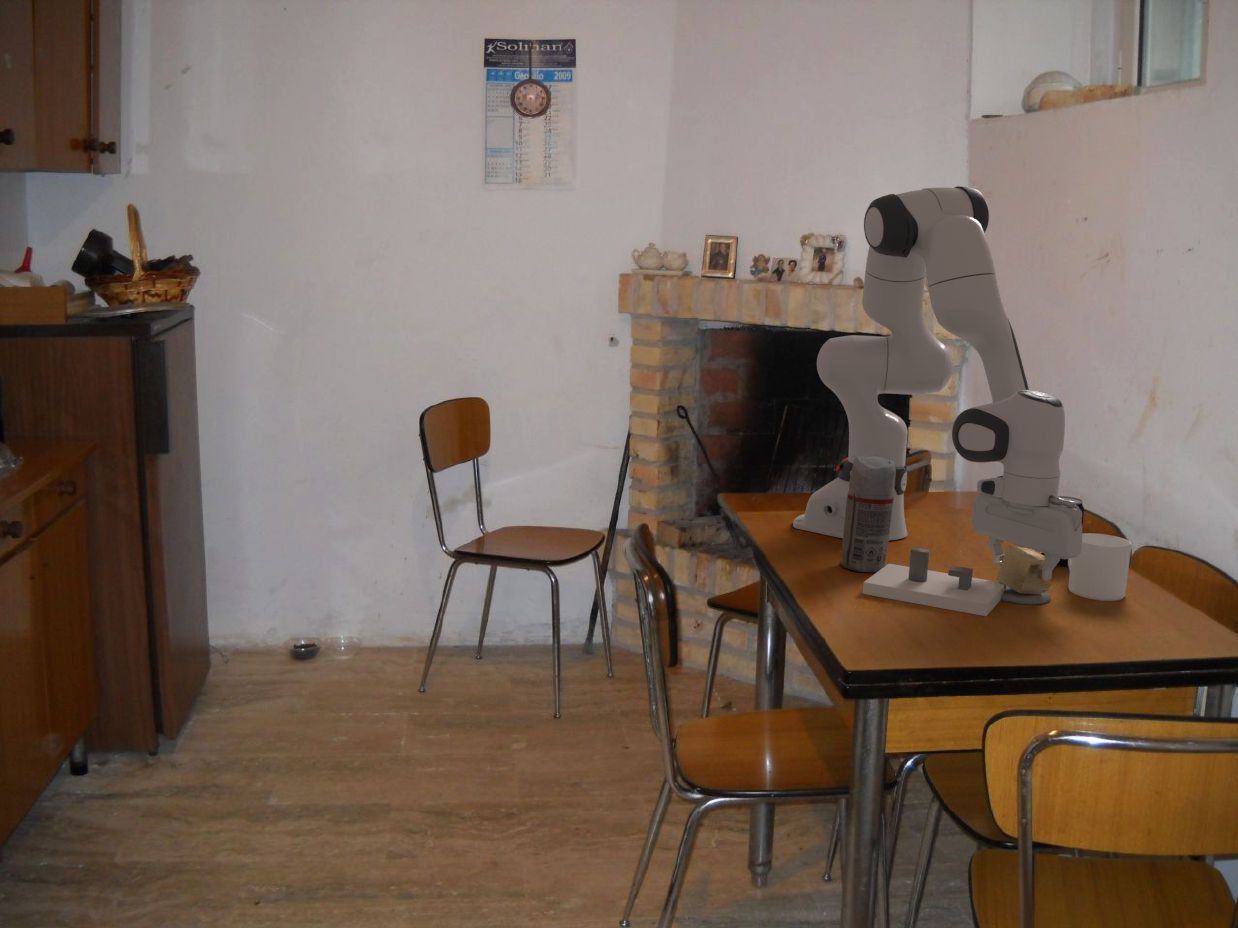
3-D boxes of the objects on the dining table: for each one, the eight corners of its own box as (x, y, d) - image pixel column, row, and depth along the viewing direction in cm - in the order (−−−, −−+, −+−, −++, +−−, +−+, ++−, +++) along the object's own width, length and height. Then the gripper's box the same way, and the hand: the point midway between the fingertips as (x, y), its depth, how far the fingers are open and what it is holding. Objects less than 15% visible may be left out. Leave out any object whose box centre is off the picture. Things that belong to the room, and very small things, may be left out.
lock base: (862, 593, 198) (866, 552, 197) (887, 574, 210) (891, 535, 209) (986, 616, 189) (990, 573, 187) (1005, 594, 201) (1009, 554, 199)
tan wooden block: (1019, 593, 196) (1032, 558, 195) (995, 579, 201) (1007, 545, 199) (1056, 595, 201) (1068, 562, 200) (1031, 582, 206) (1044, 549, 204)
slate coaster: (981, 597, 199) (981, 593, 198) (994, 583, 207) (995, 579, 207) (1044, 608, 194) (1044, 604, 194) (1055, 593, 202) (1055, 590, 202)
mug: (1135, 601, 200) (1142, 547, 198) (1084, 601, 199) (1090, 546, 197) (1099, 580, 212) (1105, 529, 210) (1050, 580, 211) (1056, 528, 209)
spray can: (890, 564, 217) (899, 455, 213) (885, 576, 209) (894, 463, 205) (843, 558, 219) (851, 451, 215) (836, 570, 212) (844, 458, 208)
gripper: (1095, 502, 190) (1086, 586, 193) (995, 477, 207) (987, 554, 210) (1069, 505, 187) (1059, 590, 189) (969, 479, 204) (962, 558, 207)
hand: (1021, 571), depth 200 cm, fingers open, 8 cm apart
